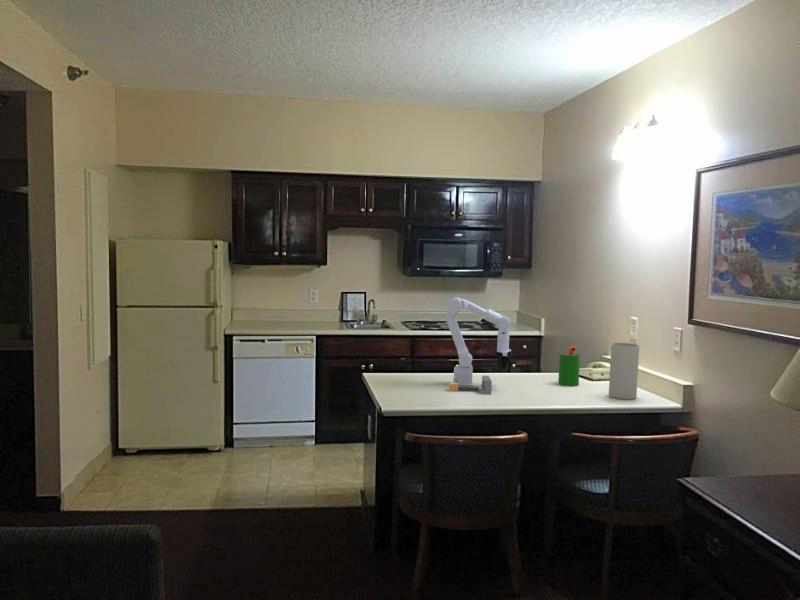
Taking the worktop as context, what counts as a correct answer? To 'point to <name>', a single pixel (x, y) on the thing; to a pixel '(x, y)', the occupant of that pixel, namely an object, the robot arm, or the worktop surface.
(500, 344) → the robot arm
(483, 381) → the bracket
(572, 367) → the green upright cylinder
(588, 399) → the worktop surface
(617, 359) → the cylinder vase
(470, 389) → the plug
